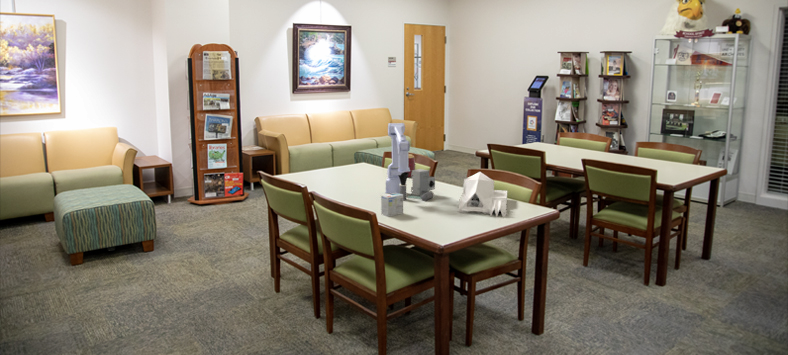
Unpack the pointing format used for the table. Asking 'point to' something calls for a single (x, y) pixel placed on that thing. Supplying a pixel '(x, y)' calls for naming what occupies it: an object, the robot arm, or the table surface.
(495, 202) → the white faceted model
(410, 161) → the canister
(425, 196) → the post right
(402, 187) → the post left
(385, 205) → the light bulb box
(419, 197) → the pad
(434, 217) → the table surface
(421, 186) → the circuit breaker
